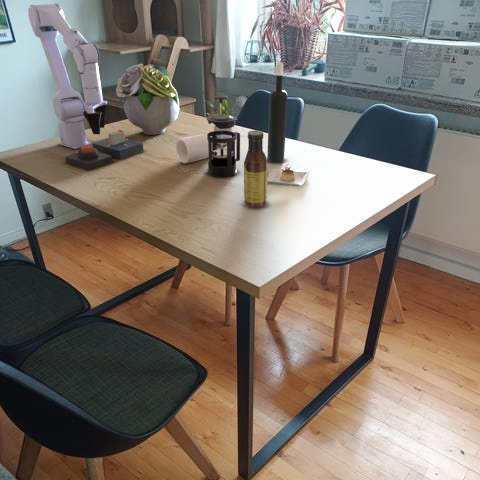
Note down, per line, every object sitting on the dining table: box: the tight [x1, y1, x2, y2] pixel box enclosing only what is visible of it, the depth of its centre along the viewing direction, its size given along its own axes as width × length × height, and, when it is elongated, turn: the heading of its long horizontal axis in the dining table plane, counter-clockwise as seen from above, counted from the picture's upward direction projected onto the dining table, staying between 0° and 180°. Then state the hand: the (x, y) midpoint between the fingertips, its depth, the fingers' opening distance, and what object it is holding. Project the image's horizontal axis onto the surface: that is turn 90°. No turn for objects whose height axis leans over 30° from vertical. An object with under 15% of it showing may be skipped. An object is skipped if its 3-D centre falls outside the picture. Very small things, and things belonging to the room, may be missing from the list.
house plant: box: [203, 99, 237, 146], centre depth 180 cm, size 14×14×16 cm
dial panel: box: [91, 137, 145, 160], centre depth 175 cm, size 14×11×3 cm
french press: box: [206, 95, 241, 179], centre depth 152 cm, size 12×9×23 cm
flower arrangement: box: [115, 63, 180, 136], centre depth 188 cm, size 25×25×24 cm
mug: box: [175, 133, 209, 164], centre depth 167 cm, size 12×10×8 cm
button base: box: [64, 148, 114, 171], centre depth 165 cm, size 12×10×4 cm
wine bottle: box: [266, 62, 289, 164], centre depth 160 cm, size 6×6×30 cm
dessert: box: [267, 164, 310, 187], centre depth 153 cm, size 12×12×5 cm
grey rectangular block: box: [107, 129, 126, 145], centre depth 173 cm, size 6×2×4 cm, turn 143°
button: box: [80, 144, 93, 153], centre depth 163 cm, size 4×4×2 cm
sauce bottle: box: [243, 129, 268, 209], centre depth 132 cm, size 6×6×20 cm
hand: (98, 130), depth 165 cm, fingers open, 7 cm apart
